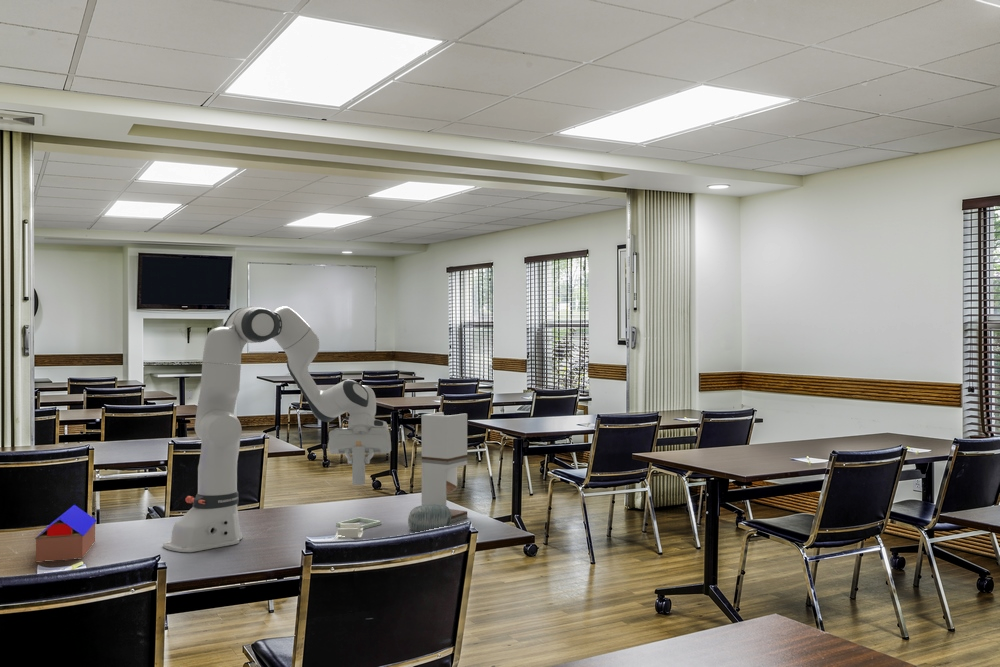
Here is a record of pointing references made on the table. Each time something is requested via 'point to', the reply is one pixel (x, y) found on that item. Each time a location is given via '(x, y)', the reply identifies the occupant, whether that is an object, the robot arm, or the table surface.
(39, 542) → the house
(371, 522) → the tray
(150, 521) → the table surface
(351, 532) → the white toy chair
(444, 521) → the grey furry rounded block
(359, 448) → the gray bottle
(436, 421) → the notched white block
